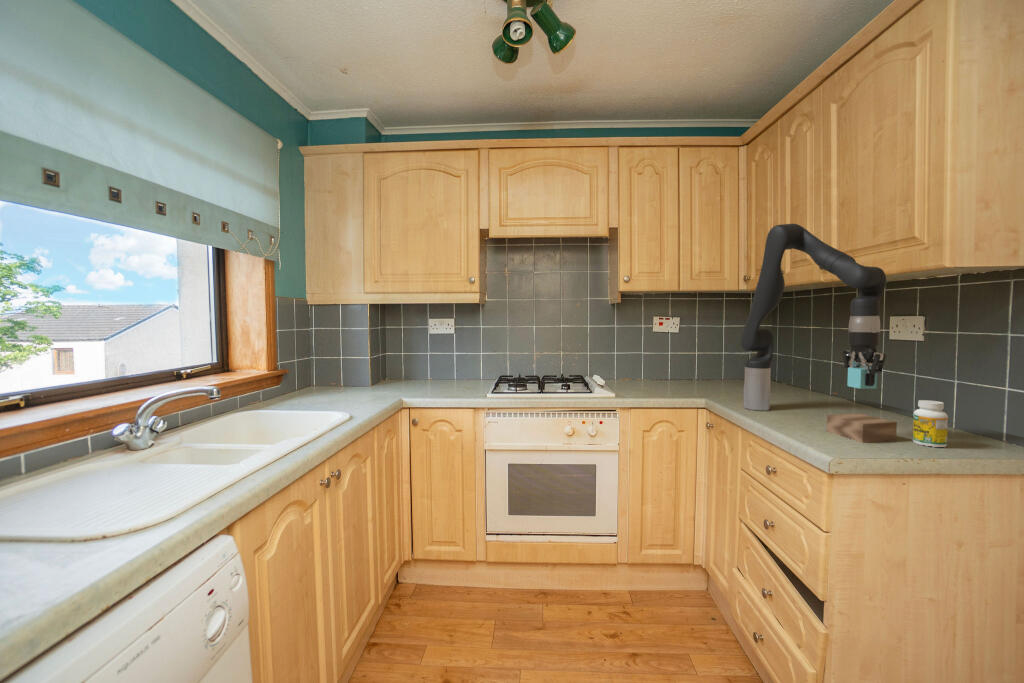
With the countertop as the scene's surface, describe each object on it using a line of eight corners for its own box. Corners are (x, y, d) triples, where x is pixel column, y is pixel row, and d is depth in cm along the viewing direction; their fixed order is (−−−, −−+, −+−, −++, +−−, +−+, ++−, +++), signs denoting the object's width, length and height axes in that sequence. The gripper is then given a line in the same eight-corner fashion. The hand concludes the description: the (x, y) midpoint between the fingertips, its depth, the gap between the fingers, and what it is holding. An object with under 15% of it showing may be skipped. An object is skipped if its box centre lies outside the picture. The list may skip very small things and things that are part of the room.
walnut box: (826, 433, 138) (827, 415, 138) (858, 431, 140) (858, 413, 140) (862, 443, 126) (863, 424, 126) (896, 441, 128) (896, 422, 128)
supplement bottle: (954, 448, 121) (956, 404, 120) (928, 448, 121) (931, 404, 120) (929, 440, 128) (931, 399, 127) (905, 441, 128) (907, 399, 127)
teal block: (847, 386, 135) (848, 367, 134) (862, 385, 135) (863, 367, 134) (860, 388, 130) (861, 369, 129) (876, 388, 130) (877, 369, 129)
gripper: (834, 330, 138) (832, 381, 139) (871, 331, 124) (869, 388, 125) (857, 329, 138) (855, 380, 139) (896, 331, 124) (894, 388, 125)
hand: (861, 384), depth 132 cm, fingers closed on teal block, 5 cm apart
